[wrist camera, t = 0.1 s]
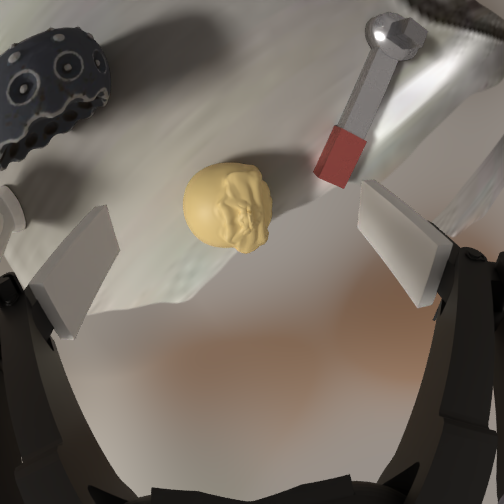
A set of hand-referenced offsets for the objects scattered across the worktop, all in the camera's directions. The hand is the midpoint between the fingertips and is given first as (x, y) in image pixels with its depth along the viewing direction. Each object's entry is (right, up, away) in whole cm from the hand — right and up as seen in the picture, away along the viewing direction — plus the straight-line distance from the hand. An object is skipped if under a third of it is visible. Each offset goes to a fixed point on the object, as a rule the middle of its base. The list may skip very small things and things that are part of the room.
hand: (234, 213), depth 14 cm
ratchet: (+17, +22, +21) cm, 35 cm away
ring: (-26, +22, +17) cm, 38 cm away
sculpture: (-3, +7, +29) cm, 30 cm away
